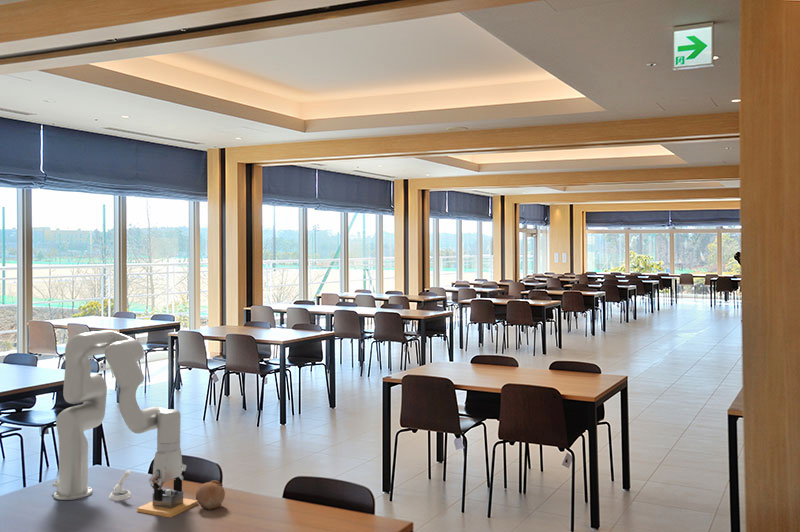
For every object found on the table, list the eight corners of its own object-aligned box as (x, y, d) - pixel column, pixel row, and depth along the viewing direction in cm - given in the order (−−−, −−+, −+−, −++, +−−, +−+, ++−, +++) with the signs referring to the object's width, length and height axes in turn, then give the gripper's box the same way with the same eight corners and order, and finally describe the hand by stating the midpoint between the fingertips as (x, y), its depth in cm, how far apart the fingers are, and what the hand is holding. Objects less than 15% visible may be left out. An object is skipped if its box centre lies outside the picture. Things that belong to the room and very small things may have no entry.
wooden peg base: (137, 511, 232) (137, 493, 232) (165, 498, 245) (165, 481, 245) (170, 517, 226) (170, 499, 226) (197, 504, 239) (198, 486, 239)
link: (152, 505, 234) (152, 493, 234) (164, 499, 240) (164, 488, 240) (171, 508, 231) (171, 496, 231) (183, 503, 237) (183, 491, 237)
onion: (217, 512, 240) (228, 484, 243) (218, 514, 231) (230, 484, 235) (191, 504, 238) (202, 475, 242) (191, 505, 229) (203, 475, 233)
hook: (140, 486, 242) (122, 476, 240) (121, 512, 243) (103, 502, 242) (145, 475, 249) (128, 465, 248) (127, 500, 251) (110, 490, 249)
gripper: (176, 439, 245) (176, 487, 245) (141, 451, 229) (141, 502, 229) (194, 441, 242) (193, 490, 242) (159, 453, 226) (159, 505, 226)
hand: (168, 496), depth 236 cm, fingers open, 9 cm apart
